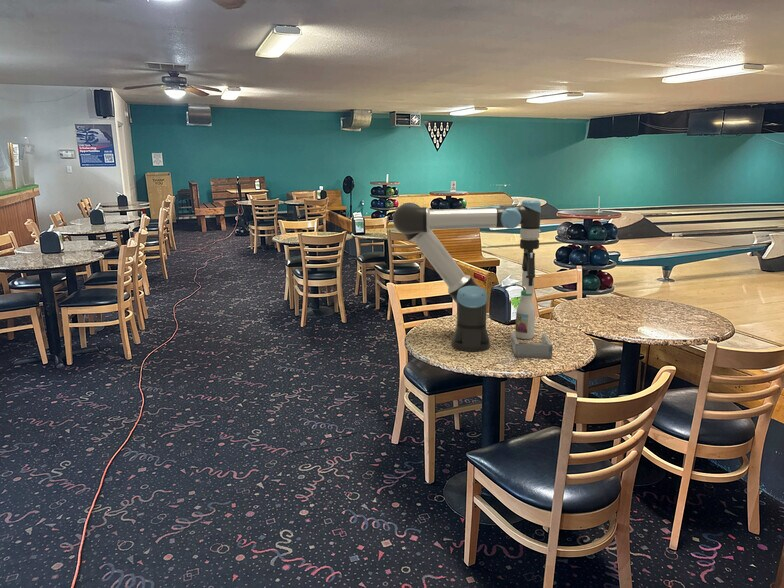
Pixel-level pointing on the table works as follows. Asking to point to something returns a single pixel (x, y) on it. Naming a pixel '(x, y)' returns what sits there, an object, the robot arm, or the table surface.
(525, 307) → the milk bottle
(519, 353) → the coupler bracket
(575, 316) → the table surface
